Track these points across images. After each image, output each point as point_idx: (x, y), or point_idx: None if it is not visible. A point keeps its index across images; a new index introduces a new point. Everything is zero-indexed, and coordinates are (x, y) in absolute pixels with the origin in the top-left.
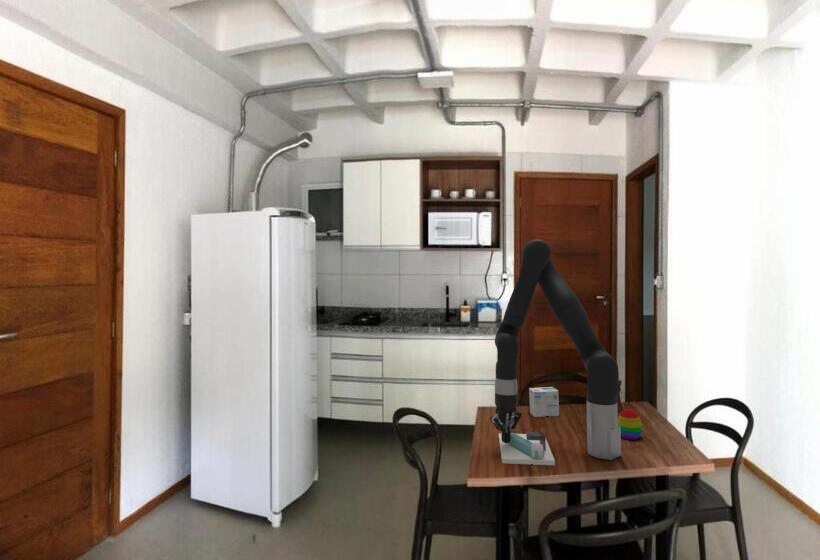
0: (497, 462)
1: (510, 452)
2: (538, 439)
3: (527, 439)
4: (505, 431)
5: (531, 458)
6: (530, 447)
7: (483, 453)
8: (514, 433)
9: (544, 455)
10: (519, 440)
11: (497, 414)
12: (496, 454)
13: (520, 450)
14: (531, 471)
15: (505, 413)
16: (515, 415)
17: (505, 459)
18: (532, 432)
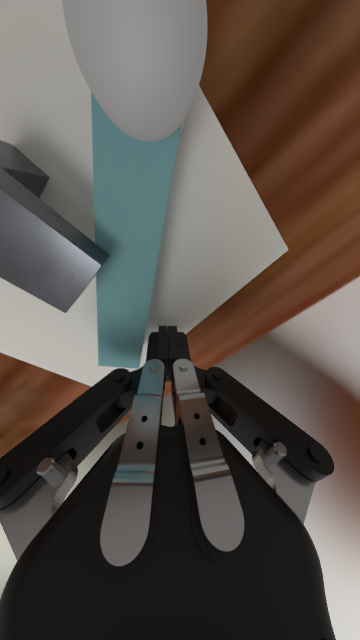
0: (276, 263)
1: (208, 272)
2: (14, 181)
3: (105, 254)
4: (193, 366)
5: (192, 124)
6: (173, 143)
7: (238, 335)
8: (99, 359)
9: (75, 74)
10: (141, 292)
11: (302, 522)
12: (218, 310)
13: None
14: (291, 23)
15: (237, 537)
16: (61, 474)
17: (279, 237)
18: (11, 281)
